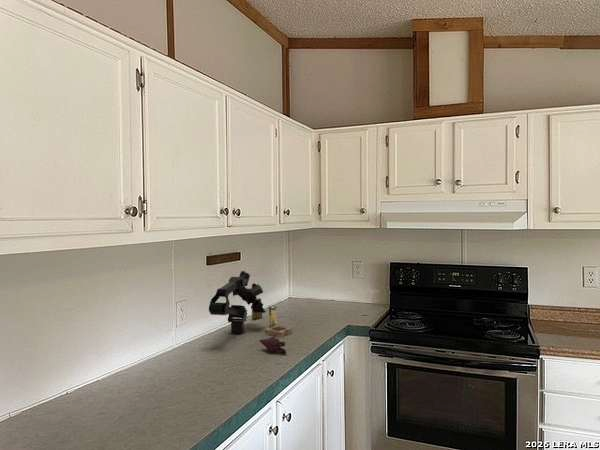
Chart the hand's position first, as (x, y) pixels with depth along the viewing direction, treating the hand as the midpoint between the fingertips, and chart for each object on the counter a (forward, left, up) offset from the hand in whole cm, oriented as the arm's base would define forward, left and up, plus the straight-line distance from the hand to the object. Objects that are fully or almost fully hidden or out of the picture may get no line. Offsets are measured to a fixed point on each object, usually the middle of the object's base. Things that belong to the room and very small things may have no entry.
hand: (262, 308), depth 236 cm
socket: (-9, -18, -10) cm, 22 cm away
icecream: (-33, -31, -10) cm, 47 cm away
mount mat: (-3, -10, -10) cm, 14 cm away
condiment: (+12, +12, -10) cm, 20 cm away
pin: (-3, -10, -9) cm, 14 cm away
